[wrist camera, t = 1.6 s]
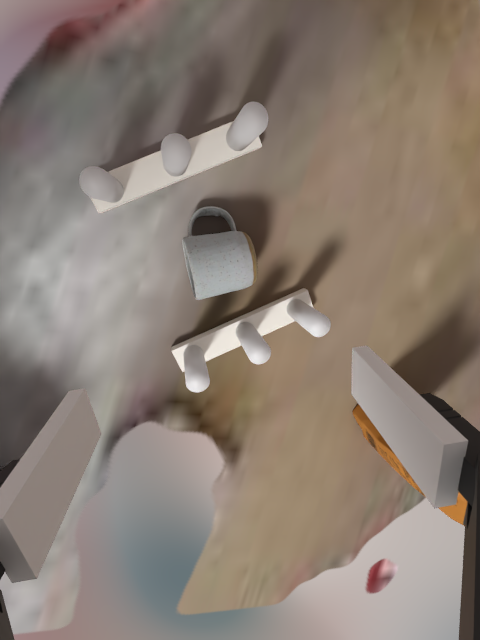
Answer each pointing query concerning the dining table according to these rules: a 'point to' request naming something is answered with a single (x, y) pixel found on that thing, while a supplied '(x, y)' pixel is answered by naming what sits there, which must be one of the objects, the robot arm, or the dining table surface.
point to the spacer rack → (175, 166)
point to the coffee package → (386, 452)
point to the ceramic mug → (219, 258)
